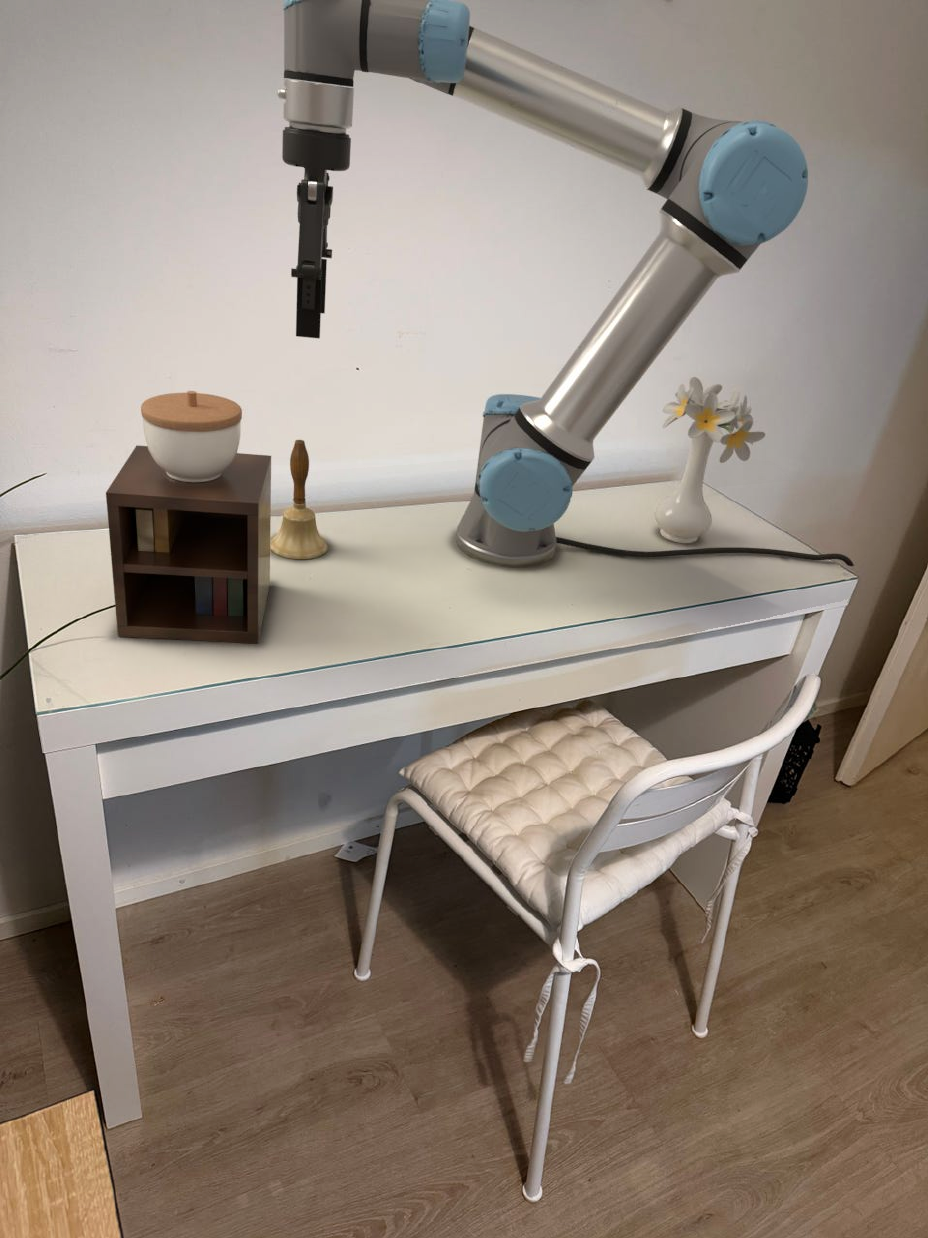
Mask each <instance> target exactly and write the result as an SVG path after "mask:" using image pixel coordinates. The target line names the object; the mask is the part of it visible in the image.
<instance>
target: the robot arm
mask: <svg viewBox="0 0 928 1238" xmlns="http://www.w3.org/2000/svg"><path fill="white" fill-rule="evenodd" d="M282 7H283V28H284V29H283V47H284V48H283V55H284V56H283V58H284V59H283V63H284V64H283V70H284V71H283V80H284V82H283V85H284V87H285V88H279V89H278V92H277V97H278V99H280V100H285V102H284V103H283V119H284V120H285V121H286V122H288V126H285V127H284V129H282V148H281V149H282V152H281V156H282V157H281V159H282V161H283V163H285V164H286V165H288V166H292V167H296V168H297V167H299V168H303V169H304V175H303V178H301V180H300V182H298V184H297V185H296V201H297V222H298V224H299V228H298V248H297V265H296V267H295V268H294V267H293V268H290V269H291V271H290V275H291V278H296V314H295V315H296V318H295V337H299V338H309V339H320V338H321V315H322V314H326V293H327V292H326V291H327V290H326V288H327V263H328V259H332V257H333V249H330V248H328V247H329V243H328V225H329V221H330V218H331V211H332V210H331V208H332V207H331V206H332V204H333V201H334V199H333V198H334V186H333V185H329V181H330V174H329V172H328V171H331V172H345V171H348V170H349V169H350V167H351V166H350V165H351V147H352V146H351V144H352V138H351V137H350V134H348V133H347V130H349V129H351V128H352V127H353V115H354V114H353V113H354V96H355V88H354V78H355V71H359V72H362V73H372V74H379V75H385V76H392V77H398V78H406V79H409V80H411V81H414V82H416V83H419V84H423V85H425V86H427V87H430V88H432V89H434V90H436V91H438V92H441V93H443V94H446V95H449V96H452V97H454V98H456V99H459V100H461V101H463V102H466V103H467V104H470V105H472V106H475V107H477V108H480V109H482V110H484V111H487V112H489V113H491V114H493V115H496V116H498V117H501V118H504V119H505V120H508V121H510V122H512V123H515V124H516V125H519V126H522V127H524V128H526V129H528V130H531V131H533V132H536V133H538V134H540V135H542V136H544V137H547V138H549V139H551V140H554V141H556V142H559V143H561V144H563V145H566V146H568V147H570V148H572V149H575V150H577V151H579V152H581V153H584V154H586V155H589V156H591V157H593V158H596V159H598V160H600V161H602V162H605V163H607V164H609V165H612V166H614V167H616V168H619V169H621V170H623V171H625V172H628V173H631V174H633V175H634V176H637V177H639V179H640V182H641V185H642V187H643V189H645V190H647V191H650V192H651V193H654V194H657V195H659V196H660V197H662V198H663V199H666V201H665V203H664V204H663V205H662V206H661V208H660V209H659V210H658V214H659V215H658V217H659V233H658V235H657V236H656V237H655V238H654V241H652V243H651V244H650V245H649V247H648V248H647V250H646V251H645V253H644V254H643V256H641V258H640V259H639V261H638V262H637V264H635V267H634V268H633V269H632V271H631V272H630V274H629V275H628V276H627V278H626V279H625V280H624V282H623V284H622V285H621V286H620V287H619V288H618V290H617V291H616V293H615V294H614V296H613V297H612V298H611V300H610V301H609V303H608V304H607V306H606V307H605V309H603V311H602V313H601V314H600V315H599V317H598V318H597V319H596V321H595V322H594V324H593V325H592V326H591V328H590V329H589V331H588V332H587V333H586V335H585V336H584V338H583V339H582V341H581V342H580V343H579V345H578V346H577V347H576V349H575V350H574V351H573V353H572V354H571V356H570V357H568V360H567V361H566V363H565V364H564V366H563V367H562V368H561V370H560V371H559V372H558V373H557V375H556V377H554V379H553V381H552V382H551V383H550V385H549V386H548V387H547V389H546V391H545V392H544V393H543V395H542V396H541V397H538V396H531V395H526V394H525V395H524V394H514V393H513V394H512V393H500V394H499V393H498V394H493V395H491V396H489V397H488V398H487V400H486V402H485V407H484V411H483V412H482V417H483V418H482V420H483V421H482V427H481V434H480V435H481V436H480V443H479V452H478V458H477V465H476V466H477V467H476V475H475V483H474V492H473V495H472V497H471V498H470V501H469V503H468V504H467V507H466V509H465V511H464V513H463V515H462V517H461V519H460V521H459V523H458V525H457V529H456V537H455V541H456V544H457V546H458V548H459V549H460V550H461V551H462V552H463V553H465V554H466V555H468V556H469V557H471V558H473V559H475V560H478V561H480V562H483V563H487V564H491V565H494V566H499V567H506V568H530V567H535V566H540V565H543V564H545V563H548V562H550V561H551V560H552V559H553V558H554V555H555V553H556V546H557V544H559V545H564V546H568V547H572V548H573V547H574V548H578V549H582V550H587V551H593V552H598V553H603V554H608V555H614V556H621V557H629V558H630V557H631V558H632V557H633V558H645V559H646V558H648V559H649V558H652V559H653V558H668V557H682V556H684V557H685V556H697V555H711V554H713V555H714V554H756V555H768V556H777V557H778V556H779V557H786V558H794V559H800V560H809V561H828V560H838V561H842V562H844V563H845V564H846V565H847V566H848V567H854V566H855V564H854V563H853V561H852V559H851V558H850V557H848V556H847V555H844V554H842V553H823V554H813V553H806V552H805V553H804V552H797V551H789V550H784V549H774V548H762V547H743V546H742V547H740V546H739V547H734V546H733V547H730V546H729V547H727V546H725V547H723V546H722V547H701V548H691V549H690V548H689V549H672V550H671V549H669V550H658V551H657V550H655V551H642V550H641V551H640V550H629V549H619V548H613V547H607V546H602V545H598V544H593V543H592V544H591V543H586V542H581V541H577V540H574V539H569V538H563V537H558V536H557V535H556V529H555V523H556V522H558V521H559V520H560V519H561V518H562V517H563V516H564V514H565V513H566V512H567V510H568V509H569V505H570V503H571V499H572V497H573V487H574V485H575V484H576V483H577V481H578V480H579V479H580V478H581V477H582V475H583V474H584V472H585V471H586V470H587V468H588V467H589V466H590V465H591V463H592V462H593V461H594V459H595V450H594V449H595V448H594V440H595V439H596V437H597V436H598V435H599V434H600V433H601V431H602V430H603V428H604V427H605V426H606V424H607V423H608V422H609V420H610V419H611V418H612V416H613V415H614V414H615V412H616V411H617V410H618V409H619V408H620V406H621V405H622V404H623V402H624V401H625V400H626V398H627V397H628V396H629V395H630V393H631V392H632V390H633V389H634V388H635V386H636V385H637V384H638V383H639V381H640V380H641V379H642V377H643V376H644V375H645V373H647V371H648V369H649V368H650V367H651V366H652V364H653V363H654V362H655V361H656V359H657V358H658V356H659V355H660V354H661V352H662V351H663V350H664V349H665V348H666V346H667V345H668V343H669V342H670V341H671V340H672V338H673V337H674V336H675V334H676V333H677V332H678V330H679V329H680V328H681V327H682V325H683V324H684V322H685V321H686V320H687V319H688V317H689V316H690V315H691V314H692V312H693V311H694V309H696V307H697V306H698V304H699V303H700V302H701V300H702V299H703V298H704V297H705V295H706V294H707V292H708V291H709V290H710V289H711V287H712V286H713V285H714V284H715V282H717V279H718V278H721V277H722V276H728V275H733V274H737V273H739V272H740V271H741V269H742V268H743V267H744V266H745V265H746V263H747V262H748V261H749V259H751V257H752V255H753V254H754V253H755V252H756V251H757V250H758V248H759V247H760V245H761V244H764V243H767V242H769V241H771V240H773V239H774V238H775V237H777V236H779V235H780V234H781V233H783V232H784V231H785V230H786V229H787V228H789V226H790V225H791V224H792V223H793V222H794V221H795V219H796V218H797V216H798V214H799V212H800V211H801V210H802V207H803V205H804V201H805V199H806V196H807V191H808V186H809V170H808V169H809V168H808V164H807V160H806V157H805V154H804V153H805V152H804V151H803V149H802V148H801V146H800V144H799V143H798V142H797V141H796V140H795V138H794V137H793V136H792V135H791V134H789V133H788V132H787V131H785V130H784V129H782V128H780V127H777V126H776V125H775V124H773V123H770V122H767V121H761V120H749V121H739V120H725V119H717V118H712V117H707V116H704V115H700V114H697V113H695V112H692V111H689V109H688V110H687V109H685V108H683V107H680V106H677V107H674V108H673V109H670V110H668V111H666V110H663V109H662V108H659V107H656V106H654V105H652V104H650V103H648V102H645V101H643V100H641V99H638V98H636V97H633V96H631V95H630V94H627V93H625V92H623V91H620V90H618V89H616V88H614V87H611V86H609V85H607V84H604V83H602V82H600V81H598V80H595V79H594V78H591V77H589V76H586V75H584V74H581V73H580V72H576V71H575V70H572V69H570V68H567V67H565V66H563V65H561V64H559V63H556V62H554V61H552V60H549V59H548V58H545V57H543V56H541V55H538V54H535V52H534V53H533V52H532V51H529V50H526V49H525V48H522V47H520V46H518V45H515V44H513V43H511V42H509V41H506V40H504V39H502V38H499V37H497V36H495V35H492V34H490V33H488V32H486V31H483V30H481V29H479V28H477V27H474V26H471V25H470V20H471V19H470V18H471V12H470V9H469V7H468V6H467V4H465V3H464V2H461V1H456V0H284V4H283V6H282Z"/></svg>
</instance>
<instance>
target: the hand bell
mask: <svg viewBox="0 0 928 1238" xmlns="http://www.w3.org/2000/svg"><path fill="white" fill-rule="evenodd" d="M289 459H290V460H289V467H290V468H289V469H290V474H291V475H290V476H291V478H292V481H293V498H292V501H293V506H292V507H288V508H286V509H285V510H284V511H283V513H282V514H283V515H282V520H281V521H282V522H281V525H280V528H279V530H278V532H277V534H276V535H274V537H272V538H271V539H270V551H272V552H273V553H274V554H275V555H276V556H277V555H278V556H279V557H281V558H286V559H289V560H311V559H316V558H318V557H321V556H323V555H324V554H325V553H327V551H328V549H329V545H328V543H327V541H326V539H325V538H324V537H322V536H321V534H320V533H319V529H318V526H317V520H316V513H315V512H314V510H313V509H311V508H309V507H307V504H306V502H307V501H306V483H307V479H308V475H309V472H310V458H309V451H308V450H307V447H306V442H305V440H303V439H296V440H294V445H293V448H292V450H291V453H290V458H289Z"/></svg>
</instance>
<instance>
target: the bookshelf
mask: <svg viewBox="0 0 928 1238" xmlns="http://www.w3.org/2000/svg"><path fill="white" fill-rule="evenodd" d="M271 498H272V455H267V454H253V453H240V452H237V453H236V456H235V458H234V460H233V461H232V463H231V464H230V465H229V466H228V467H227V468H226V469H225V470H224V471H223V472H222V474H221V476H220V477H218V478H217V479H214V480H211V481H206V482H184V481H179V480H176V479H173V478H171V477H169V476H168V475H167V473H166V471H165V470H164V469H162V468H161V467H160V466H159V465H158V464H157V463H156V461H155V460H154V459H153V457H152V456H151V454H150V452H149V450H148V446H147V445H138V444H137V445H136V446H135V447H134V449H132V452H131V453H130V455H129V456H128V458H127V459H126V461H125V462H124V464H123V466H122V467H121V468H120V470H119V472H118V473H117V475H116V476H115V477H114V480H112V482H111V484H110V485H109V487H108V489H107V490H106V492H105V500H106V511H107V523H108V533H109V534H108V535H109V545H110V546H109V547H110V559H111V571H112V582H113V583H112V584H113V595H114V607H115V619H116V620H115V621H116V631H117V637H121V638H137V639H138V638H140V639H141V638H142V639H160V640H182V641H201V642H220V643H223V642H224V643H239V644H259V641H260V635H261V630H262V626H263V621H264V615H265V611H266V606H267V601H268V594H269V591H270V587H271V549H270V541H271V521H272V520H271V515H272V513H271V511H272V510H271V508H272V507H271V505H272V504H271V503H272V502H271V501H272V499H271Z"/></svg>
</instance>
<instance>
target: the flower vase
mask: <svg viewBox="0 0 928 1238" xmlns="http://www.w3.org/2000/svg"><path fill="white" fill-rule="evenodd" d="M688 383H689V384H688V385H689V386H688V387H689V389H688V390H687V391H686V387H685V384H684V383H681V384H680V385H679V386H678V388H677V391H676V392H675V394H674V396H675V398H676V399H677V401H669V402H668V403H666V404H665V405H664V406H663V408H662V413H664V414H666V415H667V414H668V415H670V416H668V417H667V418H666V419H665V421H664V422H663V425H662V428H663V429H664V428H667V427H668V426H670V425H671V424H672V423H673V422H676V421H677V420H679V419H681V418H682V417H685V416H686V415H687V416H688V417H689V418H691V419H692V420H693V421H692V423H691V426H689V428H688V430H687V436H688V437H689V438H690V439H691V444H690V450H689V455H688V458H687V461H686V465H685V469H684V472H683V475H682V478H681V480H680V482H679V484H678V486H677V487H676V489H675V490H674V492H672V493H671V494H670V495H669V496H667V497H665V498H664V499H662V500H661V502H659V503H658V505H657V506H656V508H655V510H654V520H655V522H656V524H657V526H658V527H659V528H660V530H659V531H660V534H661V536H662V537H663V538H665V539H667V540H668V541H671V542H674V543H679V544H692V543H695V542H696V541H697V540H698V538H699V537H700V536H702V535H705V533H707V532H708V531H710V529H711V526H712V524H713V516H712V513H711V510H710V508H709V506H708V504H707V503H706V501H705V499H704V491H703V487H704V486H703V484H704V479H705V473H706V468H707V464H708V460H709V455H710V452H711V450H712V447H713V444H714V443H720V444H721V445H723V446H725V447H724V449H723V451H722V453H721V455H720V457H719V460H718V461H719V463H720V464H724V463H726V462H727V461H728V460H729V459H730V458H731V457H732V456H733V454H734V452H735V455H736V456H737V458H738V459H739V460H740V461H742V462H747V461H748V460H749V459H750V457H751V449H750V447H749V445H748V443H749V444H750V445H752V446H753V445H754V443H757V442H759V441H761V440H763V439H764V438H765V437H766V433H765V432H764V431H759V430H758V431H750V430H752V427H753V426H754V417H753V416H752V415H751V412H752V406H751V404H748V397H747V395H745V394H744V396H743V399H742V401H741V402H740V391H739V388H738V387H735V388H734V389H733V391H732V393H731V396H730V399H729V401H728V400H724V401H719V398H718V395H719V394H720V393H721V391H722V390H723V385H722V384H719V383H716V384H712V385H710V386H708V387H707V388H706V389H704V387H703V384H702V381H701V380H700V379H699V378H698V377H697V376H693V377H691V378H690V379H689V382H688ZM739 402H740V403H739ZM722 429H724V430H726V431H727V432H728V433H726V434H724V435H723V431H722Z"/></svg>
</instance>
